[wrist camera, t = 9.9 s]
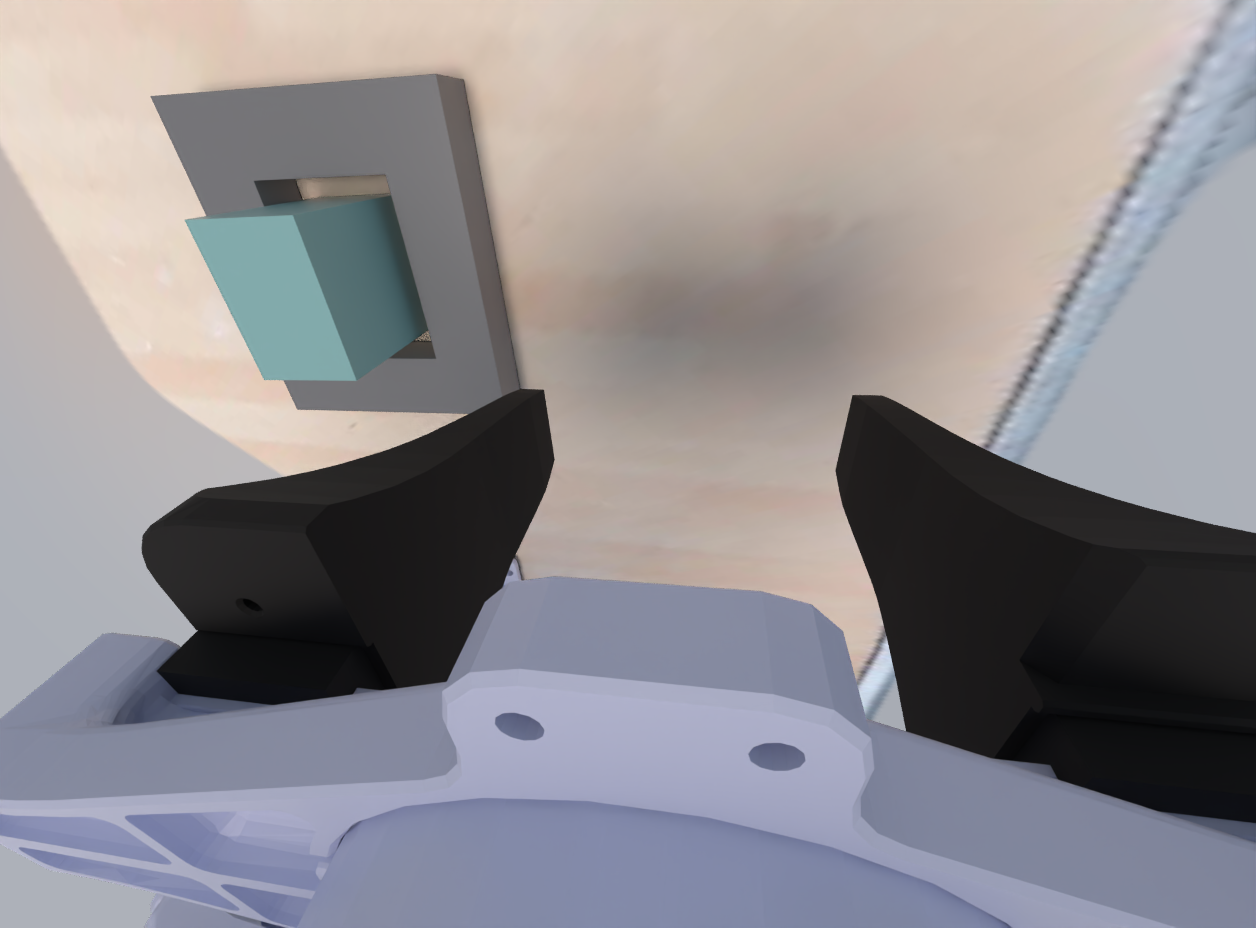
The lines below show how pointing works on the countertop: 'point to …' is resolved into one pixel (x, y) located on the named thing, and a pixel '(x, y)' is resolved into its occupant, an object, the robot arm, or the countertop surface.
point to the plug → (315, 284)
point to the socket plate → (424, 203)
